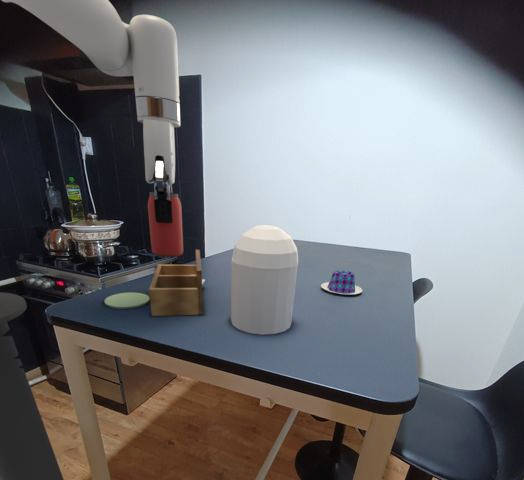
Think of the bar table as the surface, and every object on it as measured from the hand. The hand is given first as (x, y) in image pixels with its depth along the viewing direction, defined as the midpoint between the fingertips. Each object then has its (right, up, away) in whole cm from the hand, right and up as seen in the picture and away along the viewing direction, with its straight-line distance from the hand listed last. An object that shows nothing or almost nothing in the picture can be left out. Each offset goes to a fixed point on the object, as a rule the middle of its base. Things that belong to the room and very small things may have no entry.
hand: (165, 219), depth 66 cm
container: (+20, -21, +4) cm, 29 cm away
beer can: (-1, -6, +3) cm, 7 cm away
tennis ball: (+1, -9, +19) cm, 21 cm away
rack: (-1, -14, +13) cm, 20 cm away
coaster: (-12, -15, +10) cm, 22 cm away
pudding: (+43, -10, +28) cm, 52 cm away
